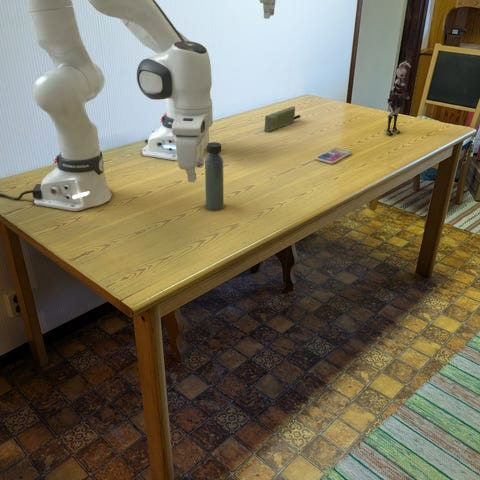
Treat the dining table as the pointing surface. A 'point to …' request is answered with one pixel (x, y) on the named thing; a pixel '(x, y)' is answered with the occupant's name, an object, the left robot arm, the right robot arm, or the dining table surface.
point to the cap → (213, 148)
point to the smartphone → (333, 155)
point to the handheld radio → (280, 119)
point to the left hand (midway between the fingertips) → (196, 173)
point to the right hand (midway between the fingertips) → (268, 16)
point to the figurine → (397, 97)
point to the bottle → (214, 182)
